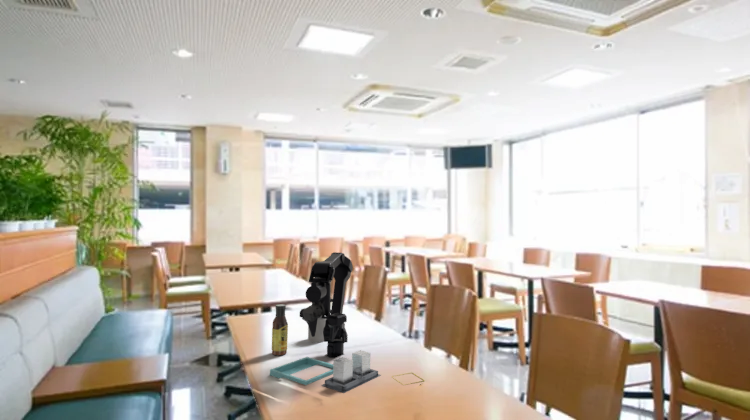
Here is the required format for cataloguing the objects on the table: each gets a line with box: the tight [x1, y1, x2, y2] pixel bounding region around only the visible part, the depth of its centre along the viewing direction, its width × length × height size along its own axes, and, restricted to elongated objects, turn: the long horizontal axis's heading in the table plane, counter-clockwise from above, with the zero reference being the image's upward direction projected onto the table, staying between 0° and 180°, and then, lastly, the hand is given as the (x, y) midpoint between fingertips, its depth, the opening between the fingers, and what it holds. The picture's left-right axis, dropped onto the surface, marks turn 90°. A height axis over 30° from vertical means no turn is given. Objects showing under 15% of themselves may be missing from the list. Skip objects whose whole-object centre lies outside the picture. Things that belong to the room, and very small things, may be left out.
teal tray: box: [269, 356, 333, 386], centre depth 160 cm, size 18×18×2 cm
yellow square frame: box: [391, 372, 426, 386], centre depth 154 cm, size 9×9×2 cm
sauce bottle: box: [271, 303, 289, 356], centre depth 183 cm, size 7×6×20 cm
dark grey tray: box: [321, 368, 382, 394], centre depth 152 cm, size 20×10×3 cm, turn 143°
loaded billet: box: [351, 349, 371, 377], centre depth 156 cm, size 4×4×8 cm
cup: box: [307, 318, 326, 344], centre depth 204 cm, size 8×8×10 cm
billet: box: [332, 356, 353, 385], centre depth 148 cm, size 4×4×8 cm
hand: (322, 338), depth 164 cm, fingers open, 9 cm apart
